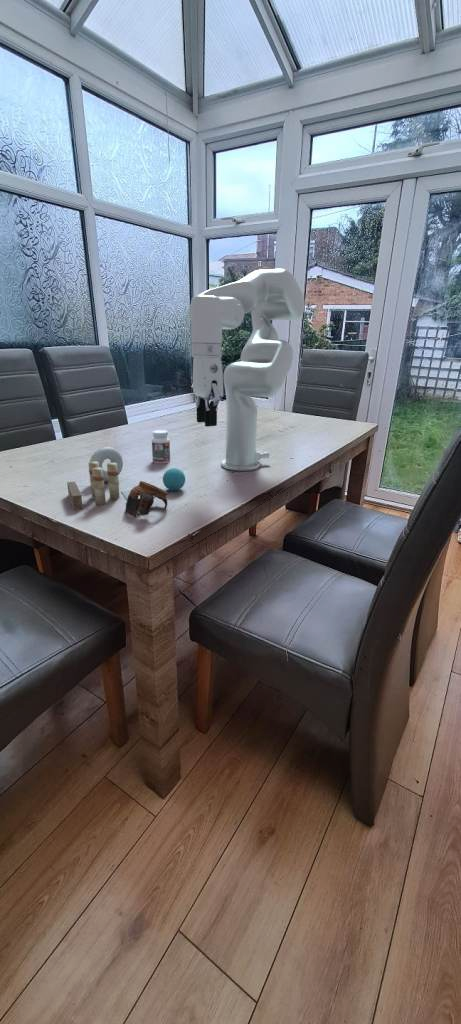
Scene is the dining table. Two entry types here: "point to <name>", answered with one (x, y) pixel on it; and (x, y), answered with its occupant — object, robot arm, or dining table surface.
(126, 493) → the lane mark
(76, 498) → the stopper strip
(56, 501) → the dining table surface
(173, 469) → the ball
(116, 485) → the front pin
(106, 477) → the donut
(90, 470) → the pin
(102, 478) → the pin
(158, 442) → the pill bottle
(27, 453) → the dining table surface
